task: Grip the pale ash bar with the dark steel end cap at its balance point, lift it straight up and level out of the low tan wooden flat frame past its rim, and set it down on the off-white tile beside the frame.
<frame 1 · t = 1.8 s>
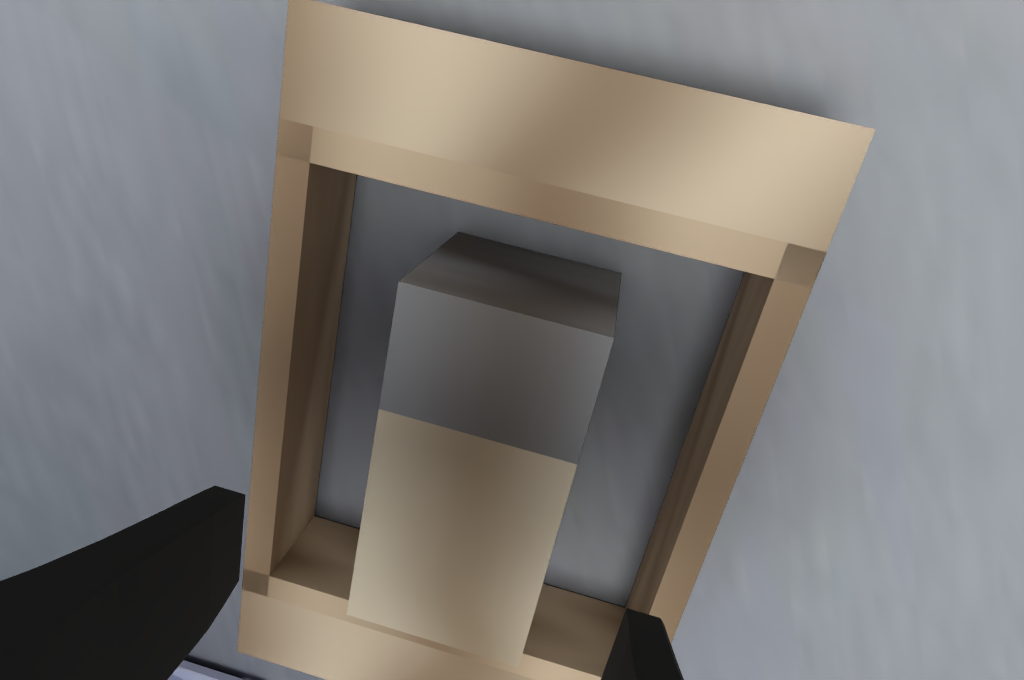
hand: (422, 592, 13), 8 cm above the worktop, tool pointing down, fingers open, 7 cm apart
capped bar: (487, 439, 18), in the tan wooden flat frame
tan wooden flat frame: (504, 399, 20), on the worktop
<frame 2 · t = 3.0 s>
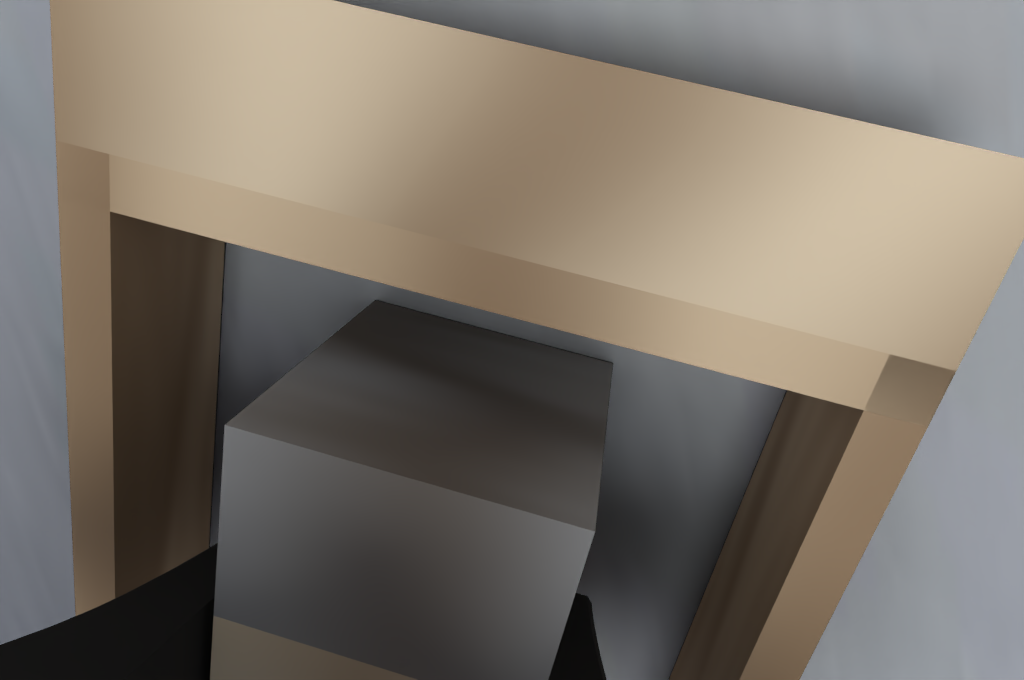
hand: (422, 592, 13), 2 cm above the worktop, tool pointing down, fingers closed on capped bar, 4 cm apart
capped bar: (412, 615, 12), in the tan wooden flat frame, touching gripper
tan wooden flat frame: (449, 529, 14), on the worktop
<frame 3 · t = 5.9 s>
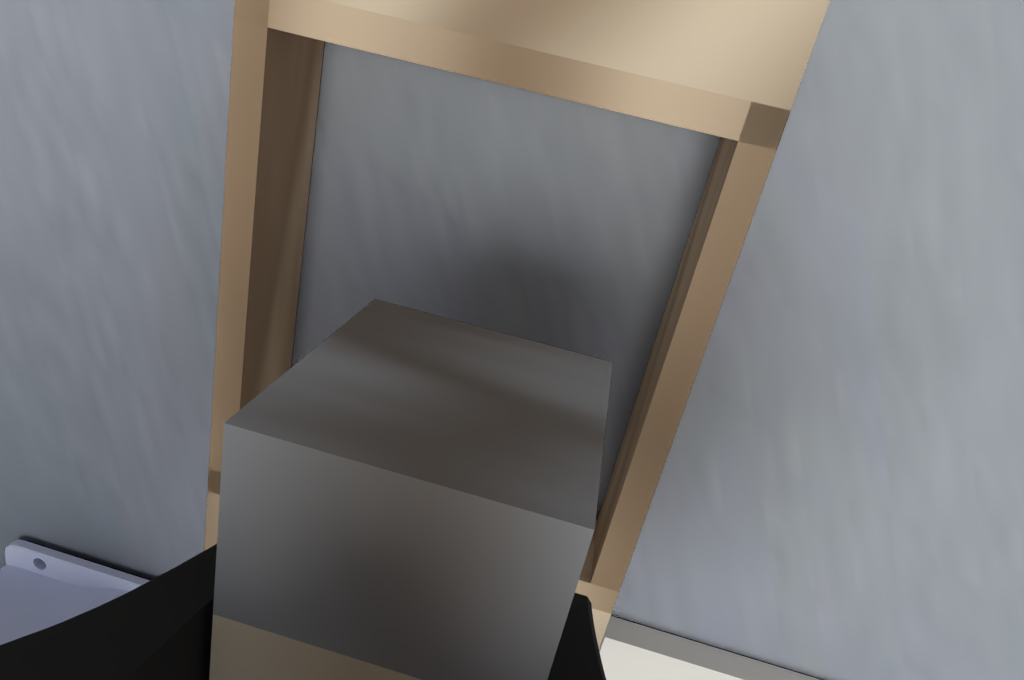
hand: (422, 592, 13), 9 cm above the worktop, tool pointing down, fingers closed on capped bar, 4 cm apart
capped bar: (412, 614, 12), point 9 cm above the worktop, touching gripper
tan wooden flat frame: (473, 299, 20), on the worktop
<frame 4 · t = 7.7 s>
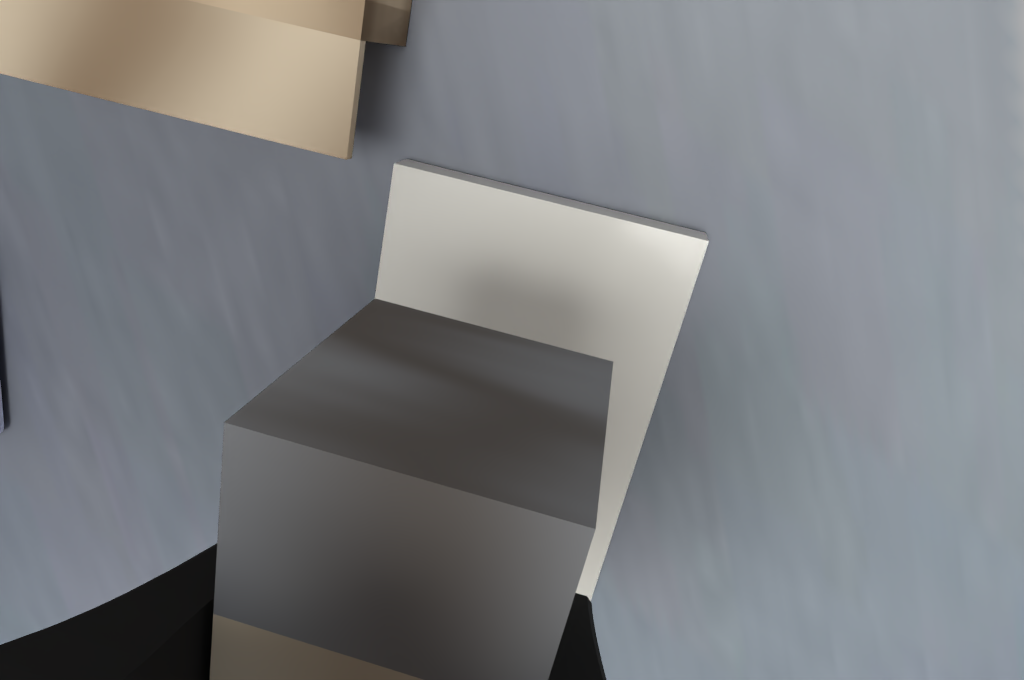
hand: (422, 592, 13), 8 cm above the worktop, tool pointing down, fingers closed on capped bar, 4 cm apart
capped bar: (412, 614, 12), point 9 cm above the worktop, touching gripper
tile: (506, 396, 20), on the worktop
when the fingers open (4 cm above the worktop, at t = 9.0 s): capped bar drops 1 cm, resting on tile.
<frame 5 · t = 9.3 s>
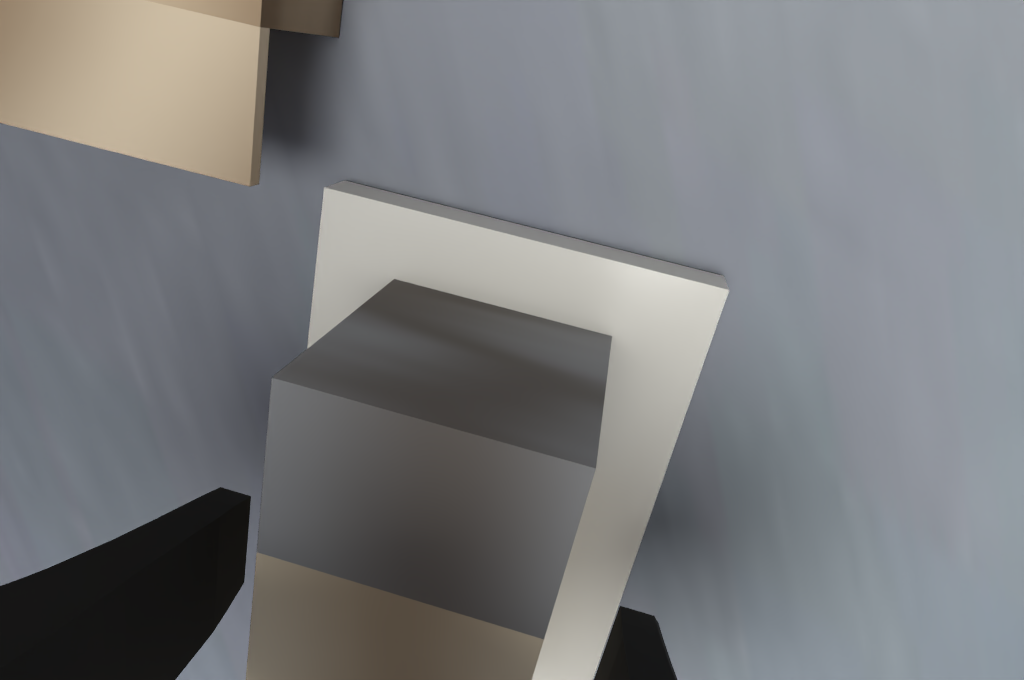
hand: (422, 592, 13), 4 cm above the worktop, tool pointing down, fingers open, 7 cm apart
capped bar: (429, 564, 13), on the tile, point 4 cm above the worktop
tile: (474, 471, 16), on the worktop
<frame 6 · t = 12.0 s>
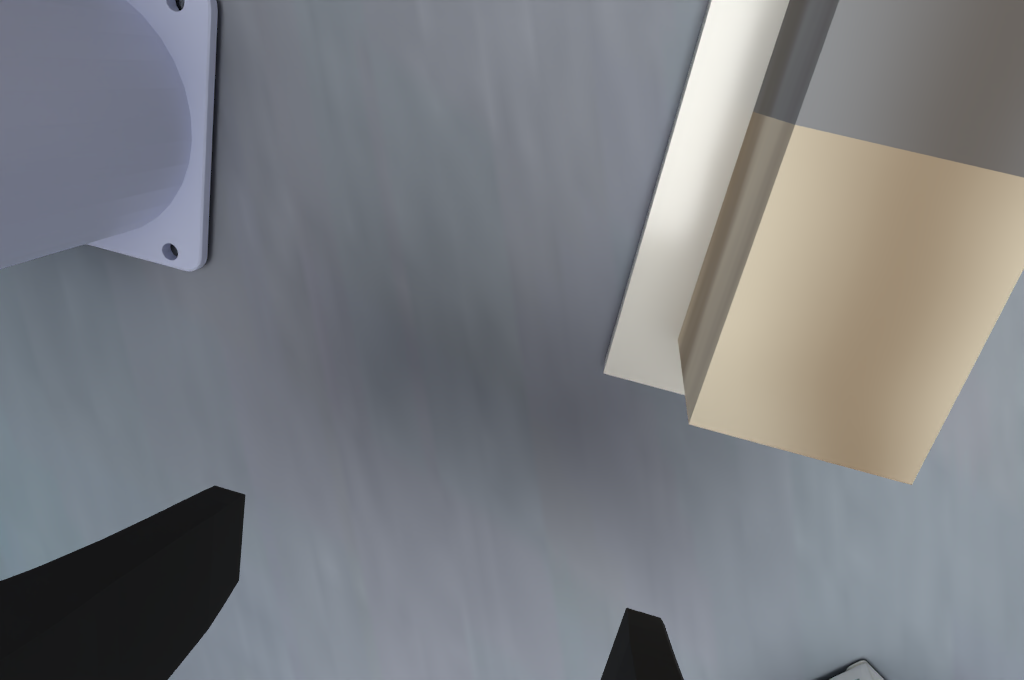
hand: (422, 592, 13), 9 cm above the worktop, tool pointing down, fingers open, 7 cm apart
capped bar: (852, 214, 15), on the tile, point 4 cm above the worktop
tile: (817, 192, 18), on the worktop
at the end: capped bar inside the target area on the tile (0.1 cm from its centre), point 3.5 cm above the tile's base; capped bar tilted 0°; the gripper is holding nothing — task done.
